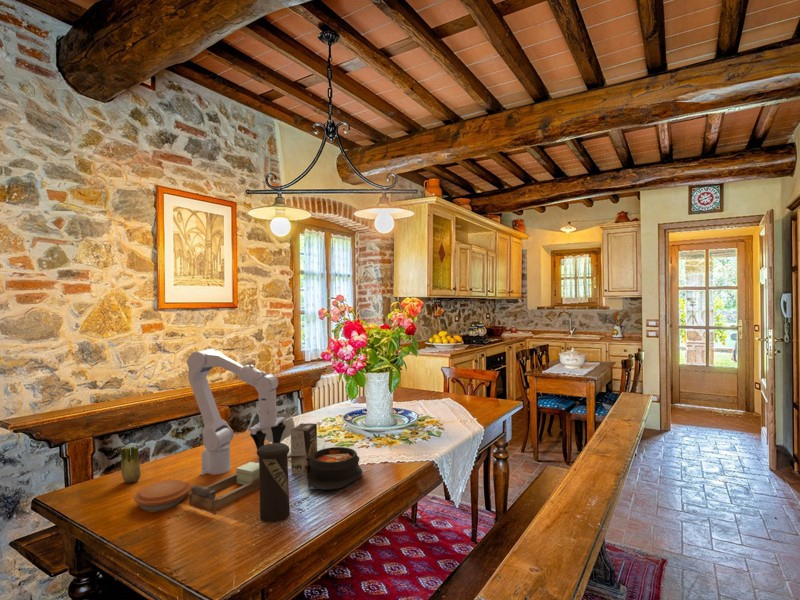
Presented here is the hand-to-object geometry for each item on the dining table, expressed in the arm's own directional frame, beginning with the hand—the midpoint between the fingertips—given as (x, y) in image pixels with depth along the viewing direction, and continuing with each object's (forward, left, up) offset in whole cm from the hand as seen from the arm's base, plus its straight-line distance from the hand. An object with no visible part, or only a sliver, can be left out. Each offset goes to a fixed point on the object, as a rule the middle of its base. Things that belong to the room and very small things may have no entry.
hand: (268, 449), depth 154 cm
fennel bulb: (-40, -24, -10) cm, 48 cm away
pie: (-15, -29, -10) cm, 34 cm away
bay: (0, -15, -9) cm, 18 cm away
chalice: (-12, +16, -10) cm, 22 cm away
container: (+22, -20, -10) cm, 31 cm away
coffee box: (+9, +8, -10) cm, 15 cm away
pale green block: (0, -8, -8) cm, 12 cm away
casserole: (+22, +8, -10) cm, 25 cm away
